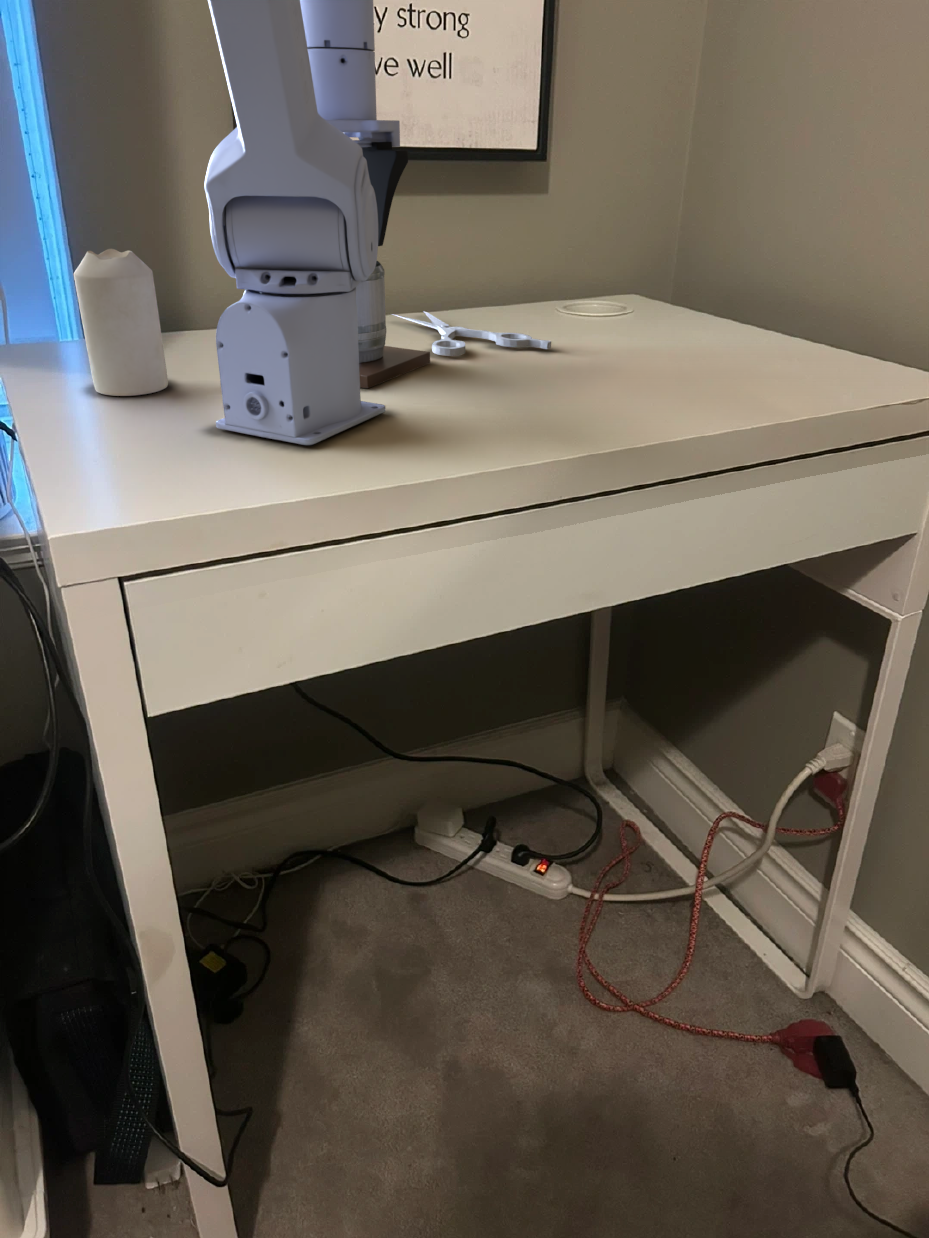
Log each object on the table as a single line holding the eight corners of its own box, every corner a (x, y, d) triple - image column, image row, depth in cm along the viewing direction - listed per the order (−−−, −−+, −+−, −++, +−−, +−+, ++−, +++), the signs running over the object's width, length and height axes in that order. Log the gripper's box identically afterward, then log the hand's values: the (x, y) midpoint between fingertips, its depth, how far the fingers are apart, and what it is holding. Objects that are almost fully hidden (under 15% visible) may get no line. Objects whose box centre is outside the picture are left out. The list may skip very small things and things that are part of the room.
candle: (91, 399, 69) (65, 256, 64) (97, 381, 73) (73, 246, 69) (168, 394, 70) (148, 254, 65) (168, 377, 75) (150, 245, 70)
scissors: (450, 352, 80) (359, 312, 95) (450, 361, 80) (359, 320, 95) (552, 341, 84) (449, 305, 100) (551, 350, 85) (449, 312, 100)
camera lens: (330, 345, 81) (324, 250, 77) (397, 351, 80) (395, 254, 76) (299, 361, 76) (292, 260, 72) (371, 367, 74) (367, 264, 71)
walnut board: (367, 388, 72) (367, 376, 72) (266, 373, 76) (265, 361, 76) (430, 363, 80) (430, 351, 80) (335, 350, 84) (334, 339, 84)
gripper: (322, 43, 60) (334, 264, 66) (432, 56, 71) (432, 244, 78) (237, 45, 63) (256, 257, 69) (355, 58, 74) (362, 239, 81)
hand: (344, 250), depth 74 cm, fingers open, 7 cm apart
